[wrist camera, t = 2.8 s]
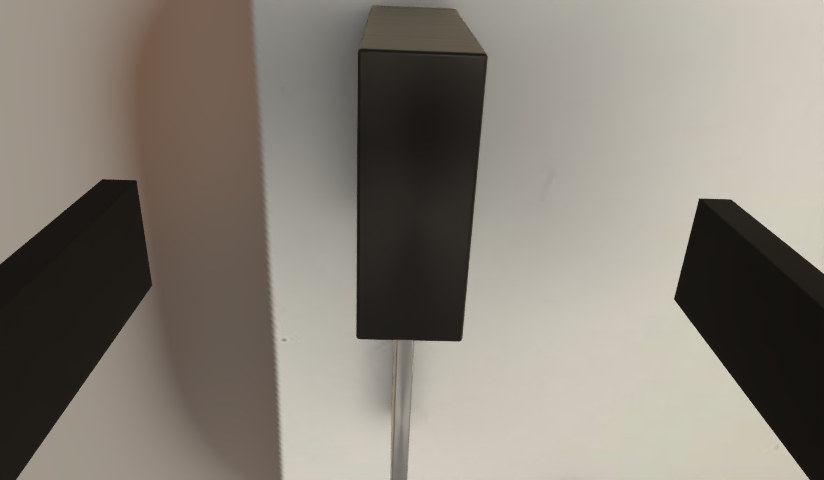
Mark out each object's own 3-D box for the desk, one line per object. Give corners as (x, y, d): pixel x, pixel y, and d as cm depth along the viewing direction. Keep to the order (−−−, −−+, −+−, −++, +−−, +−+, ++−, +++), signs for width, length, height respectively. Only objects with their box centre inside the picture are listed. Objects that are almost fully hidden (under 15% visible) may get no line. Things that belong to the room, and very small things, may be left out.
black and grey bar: (371, 5, 23) (357, 48, 15) (456, 8, 23) (488, 53, 15) (366, 414, 31) (355, 587, 23) (428, 415, 31) (439, 588, 23)
